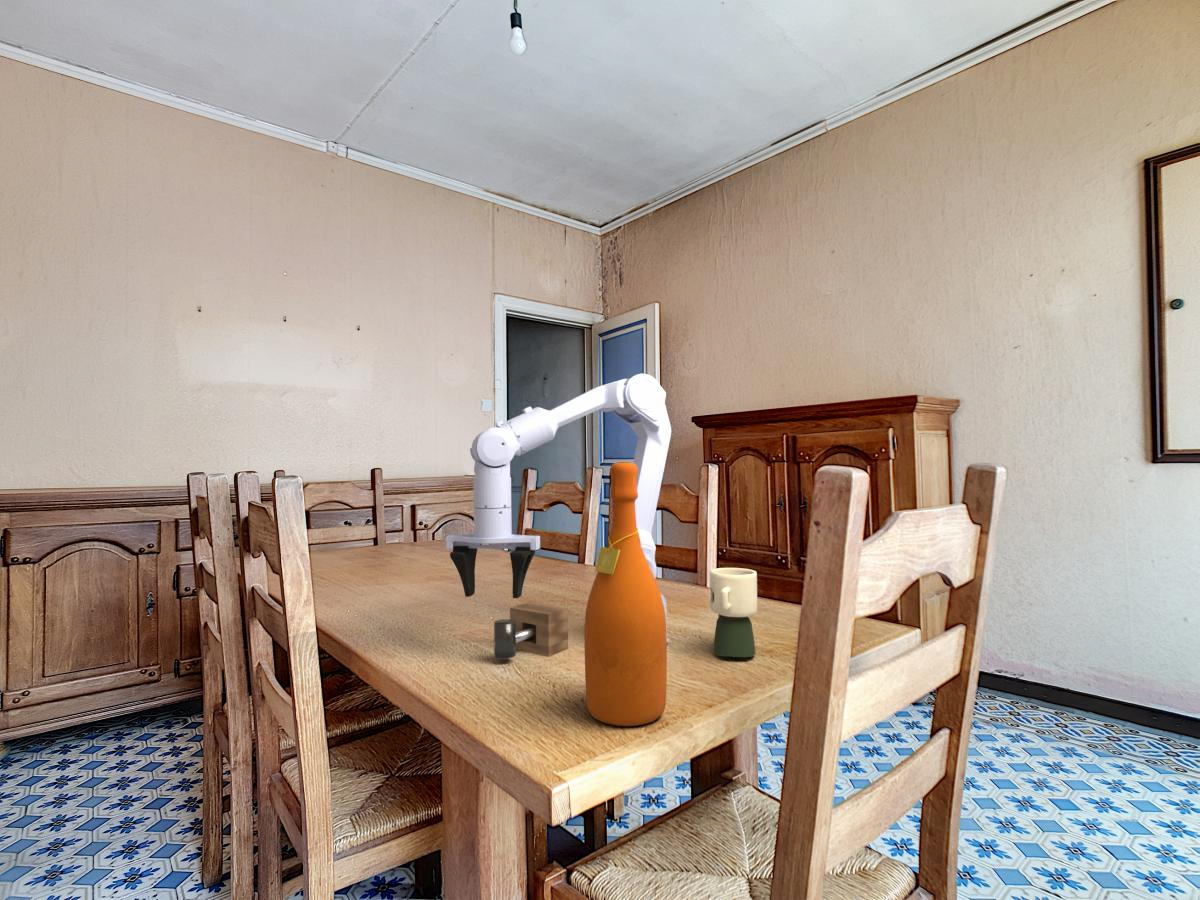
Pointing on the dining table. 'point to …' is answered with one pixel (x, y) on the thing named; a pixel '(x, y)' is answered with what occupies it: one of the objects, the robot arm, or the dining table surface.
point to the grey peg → (508, 637)
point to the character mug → (733, 610)
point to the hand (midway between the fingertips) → (493, 596)
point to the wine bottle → (625, 621)
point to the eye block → (542, 627)
